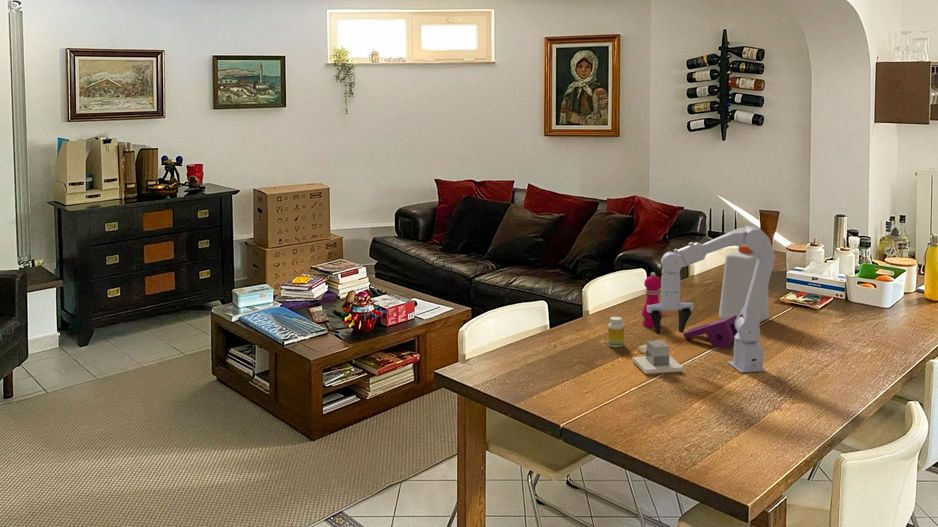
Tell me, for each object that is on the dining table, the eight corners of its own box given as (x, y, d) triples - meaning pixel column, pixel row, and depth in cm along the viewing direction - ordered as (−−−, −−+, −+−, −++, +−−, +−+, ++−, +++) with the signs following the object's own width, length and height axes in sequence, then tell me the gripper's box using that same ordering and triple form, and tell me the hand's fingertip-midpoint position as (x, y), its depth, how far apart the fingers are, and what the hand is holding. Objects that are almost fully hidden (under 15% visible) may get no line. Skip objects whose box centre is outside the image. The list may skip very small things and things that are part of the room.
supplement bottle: (605, 343, 279) (606, 316, 277) (621, 342, 280) (621, 315, 277) (609, 347, 274) (609, 320, 272) (625, 347, 274) (625, 320, 272)
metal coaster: (669, 354, 266) (669, 352, 266) (643, 355, 265) (643, 354, 265) (660, 345, 275) (660, 344, 275) (634, 347, 274) (634, 345, 274)
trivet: (683, 372, 249) (683, 367, 249) (645, 375, 248) (645, 369, 247) (668, 360, 261) (668, 354, 260) (632, 362, 259) (632, 357, 259)
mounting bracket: (687, 358, 280) (734, 345, 268) (678, 335, 281) (724, 321, 269) (699, 351, 287) (745, 338, 275) (690, 328, 288) (736, 314, 276)
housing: (669, 365, 251) (669, 346, 250) (653, 366, 250) (654, 347, 249) (661, 357, 258) (661, 339, 256) (645, 358, 257) (646, 340, 256)
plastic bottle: (736, 311, 314) (740, 240, 308) (772, 319, 303) (777, 245, 297) (714, 318, 305) (717, 245, 299) (750, 327, 293) (754, 251, 287)
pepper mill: (637, 323, 300) (638, 271, 296) (653, 321, 303) (655, 269, 299) (649, 329, 294) (651, 275, 290) (665, 326, 297) (667, 272, 292)
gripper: (687, 286, 257) (686, 327, 260) (643, 289, 255) (642, 330, 258) (696, 291, 250) (695, 334, 253) (651, 294, 248) (650, 337, 251)
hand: (669, 332), depth 255 cm, fingers open, 7 cm apart
